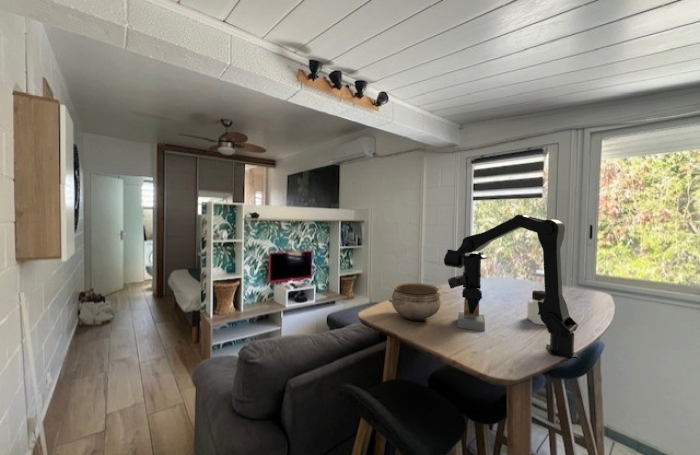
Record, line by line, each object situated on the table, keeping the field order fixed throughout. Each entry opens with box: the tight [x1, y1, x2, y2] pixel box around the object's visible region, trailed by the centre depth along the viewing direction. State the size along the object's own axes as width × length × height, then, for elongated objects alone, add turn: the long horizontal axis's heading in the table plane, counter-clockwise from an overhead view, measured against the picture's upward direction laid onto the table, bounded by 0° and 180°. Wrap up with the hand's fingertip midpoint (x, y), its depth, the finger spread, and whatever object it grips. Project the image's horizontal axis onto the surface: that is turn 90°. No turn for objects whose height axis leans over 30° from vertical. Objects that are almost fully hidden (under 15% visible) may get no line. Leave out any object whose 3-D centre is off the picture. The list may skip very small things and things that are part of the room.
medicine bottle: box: [526, 289, 546, 326], centre depth 112 cm, size 7×7×12 cm
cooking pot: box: [388, 282, 441, 322], centre depth 115 cm, size 25×19×12 cm
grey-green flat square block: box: [457, 311, 486, 332], centre depth 108 cm, size 9×9×3 cm
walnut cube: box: [463, 298, 480, 317], centre depth 108 cm, size 5×5×5 cm
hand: (471, 311), depth 108 cm, fingers closed on walnut cube, 5 cm apart
